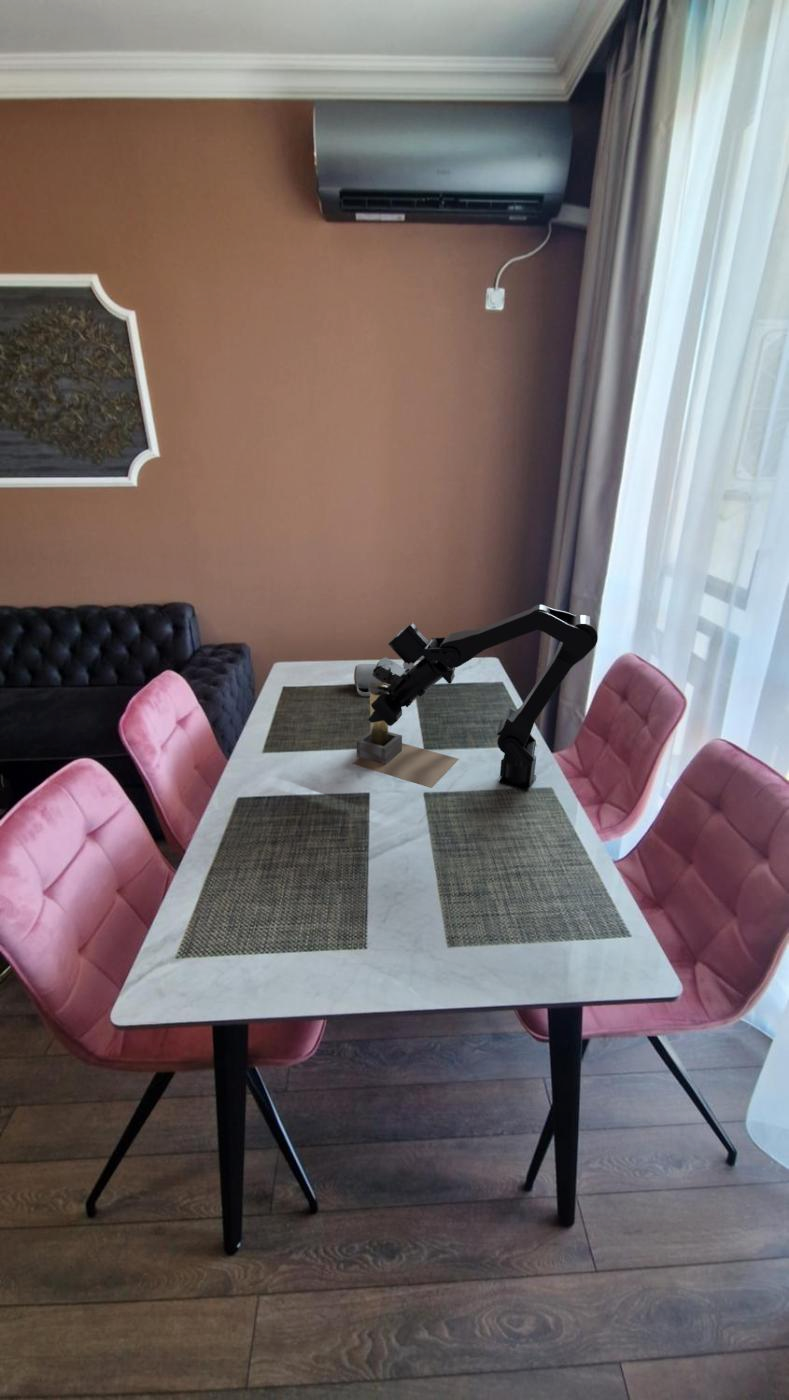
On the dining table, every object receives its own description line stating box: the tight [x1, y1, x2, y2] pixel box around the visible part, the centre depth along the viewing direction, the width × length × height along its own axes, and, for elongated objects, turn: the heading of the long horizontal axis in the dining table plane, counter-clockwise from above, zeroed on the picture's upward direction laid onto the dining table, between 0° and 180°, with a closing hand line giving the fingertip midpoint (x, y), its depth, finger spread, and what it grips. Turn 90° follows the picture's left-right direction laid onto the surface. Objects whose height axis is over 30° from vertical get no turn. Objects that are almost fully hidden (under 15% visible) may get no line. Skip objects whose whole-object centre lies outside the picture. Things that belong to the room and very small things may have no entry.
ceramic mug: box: [353, 662, 380, 697], centre depth 177 cm, size 11×8×8 cm
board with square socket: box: [351, 730, 460, 789], centre depth 137 cm, size 21×14×6 cm
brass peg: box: [368, 681, 390, 746], centre depth 136 cm, size 5×5×14 cm
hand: (373, 716), depth 137 cm, fingers closed on brass peg, 4 cm apart
